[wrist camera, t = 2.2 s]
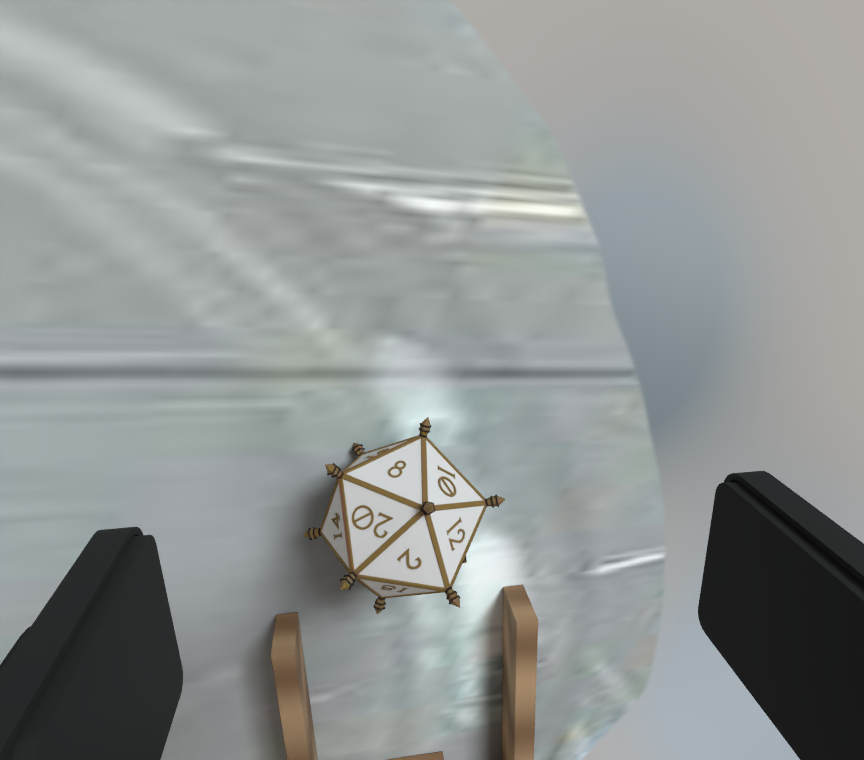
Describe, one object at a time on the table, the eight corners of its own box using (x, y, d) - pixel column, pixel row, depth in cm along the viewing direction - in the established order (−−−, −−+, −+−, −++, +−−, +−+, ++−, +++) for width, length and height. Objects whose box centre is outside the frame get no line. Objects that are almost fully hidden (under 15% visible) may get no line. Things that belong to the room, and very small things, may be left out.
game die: (363, 467, 37) (245, 581, 29) (404, 359, 32) (273, 463, 24) (490, 554, 35) (399, 702, 27) (555, 455, 30) (466, 601, 22)
